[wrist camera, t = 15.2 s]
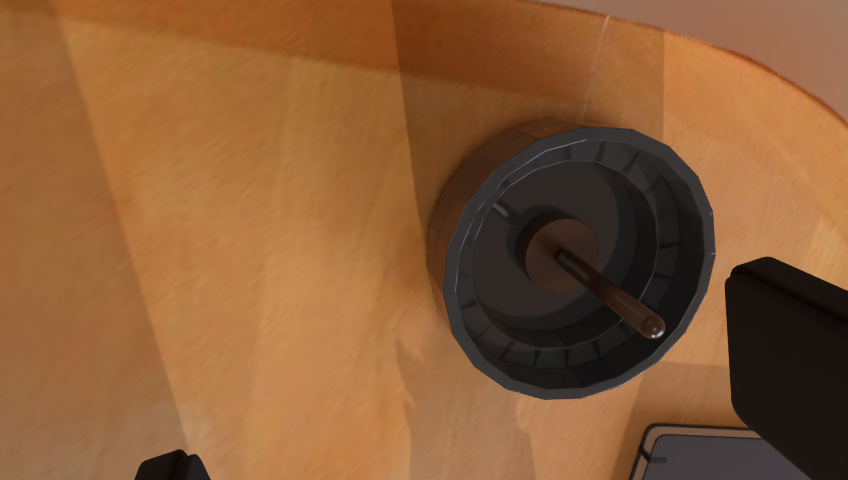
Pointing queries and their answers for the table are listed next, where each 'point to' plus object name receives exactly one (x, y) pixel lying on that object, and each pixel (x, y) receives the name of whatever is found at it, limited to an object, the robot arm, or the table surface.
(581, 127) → the bowl
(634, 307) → the plunger
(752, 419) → the robot arm
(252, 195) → the table surface
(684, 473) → the notebook
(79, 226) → the table surface
